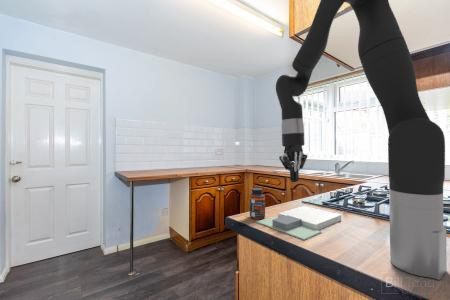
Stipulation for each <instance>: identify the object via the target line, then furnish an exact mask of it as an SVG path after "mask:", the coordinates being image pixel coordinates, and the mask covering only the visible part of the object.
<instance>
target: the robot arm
mask: <svg viewBox="0 0 450 300" xmlns="http://www.w3.org/2000/svg"><path fill="white" fill-rule="evenodd" d="M345 3H346V4H348V5H349V6H351V8H352V10H353V11H354V14H355V16H356V19H357V22H358V25H359V35H358V42H357V53H358V58H359V61H360V63H361V67H362V69H363V72H364V75H365V77H366V79H367V82H368V83H369V85H370V88H371V90H372V91H373V93H374V95H375V97H376V99H377V101H378V102H379V104H380V106H381V109H382V112H383V114H384V117H385V122H386V127H387V131H388V140H387V153H388V154H387V155H388V158H387V159H388V181H389V182H388V183H389V184H388V187H389V190H388V191H389V193H388V194H389V198H388V199H389V202H388V203H389V255H390V256H389V257H390V260H389V261H390V263H391V264H392V265H393V266H395V267H396V268H397V269H399V270H401V271H403V272H406V273H407V274H411V275H414V276H415V275H416V276H418V277H419V276H420V277H423V278H431V279H435V280H438V281H440V280H441V279H442V277H443V276H444V275H445V273H446V272H447V266H448V265H447V263H448V262H447V228H446V226H444V184H445V183H444V182H445V179H446V177H445V176H446V172H445V171H446V169H445V168H446V141H445V140H446V139H445V134H444V131H443V130H442V129H443V128H441V127H440V126H439V125H438V124H437V123H436V122H434V121H432V120H431V119H430V117H429V115H428V114H427V113H428V112H426V109H425V107H424V105H423V103H422V101H421V99H420V95H419V92H418V86H417V79H416V72H415V68H414V63H413V59H412V55H411V53H410V49H409V47H408V45H407V42H406V38H405V37H404V35H403V33H402V31H401V29H400V26H399V24H398V21H397V19H396V16H395V13H394V12H393V10H392V8H391V4H390V2H389V0H320V1H319V4H318V7H317V9H316V12H315V15H314V18H313V19H312V22H311V25H310V27H309V30H308V33H307V34H306V37H305V39H304V41H303V42H302V44H301V46H300V48H299V49H298V51H297V54H296V55H295V57H294V59H293V61H292V65H291V66H292V69H293V70H294V71H296V72H297V73H296V75H294V74H293V75H292V74H282V75H280V76H279V77H278V78H277V80H276V83H275V93H276V96H277V99H278V103H279V106H280V108H281V145H282V147H284V149H283V154H282V155H280V156H278V157H279V158H278V159H279V161H280V162H281V164H282V166H283V167H284V169H285V170H286V171H289V179H290V182H291V183H298V182H299V180H300V178H299V176H300V175H299V173H300V171H301V170H303V168H304V166H305V164H306V162H307V159H308V154H305V153H304V150H303V146H304V145H305V125H304V119H303V117H304V116H303V105H302V103H301V102H299V101H296V100H295V99H294V97H295V98H296V97H300V96H302V95H303V94H304V93H305V92H306V91H307V89H308V86H309V83H310V81H311V77H312V74H313V71H314V69H315V67H316V66H317V64H318V63H319V61H320V60H321V58H322V56H323V55H324V53H325V51H326V48H327V45H328V41H329V35H330V32H331V28H332V25H333V22H334V20H335V17H336V15H337V14H338V12H339V11H340V9H341V8H342V6H343V5H344V4H345Z"/></svg>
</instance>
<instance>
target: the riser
mask: <svg viewBox="0 0 450 300" xmlns="http://www.w3.org/2000/svg"><path fill="white" fill-rule="evenodd" d="M287 215H288V216H292V217H295V218H299V219H302V226H305V227H309V228H312V229H315V230H318V231H320V230H321V229H323V228H326V227H328V226H331V225H333V224H336V223H338V222H340V221H342V214H340V213H335V212H330V211H327V210H323V209H319V208H313V207H310V206H305V205H302V206H299V207H295V208H292V209H288V210H285V211H280V212H278V213H277V218H280V217H284V216H287Z"/></svg>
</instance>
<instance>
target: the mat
mask: <svg viewBox="0 0 450 300" xmlns="http://www.w3.org/2000/svg"><path fill="white" fill-rule="evenodd" d="M277 218H278V216H271V217H268V218H263V219H259V220H257V221H256V223H257V224H260V225H262V226H265V227H267V228H270V229H272V230H273V229H274V230H276V231H278V232H281V233H283V234H286V235H289V236H291V237H294V238H297V239H299V240H302V241H306V240H308V239H310V238H312V237H315V236H318V235H319V234H321V233H322V230H321V231H320V230H315V229H312V228H309V227H305V226H302V225H301V226H298V227H295V228H293V229H290V230H287V231H286V230H283V229H280V228H278V227H275V226H273V220H274V219H277Z"/></svg>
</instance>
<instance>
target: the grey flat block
mask: <svg viewBox="0 0 450 300" xmlns="http://www.w3.org/2000/svg"><path fill="white" fill-rule="evenodd" d="M301 225H302V219H299V218H295V217H292V216H288V215H287V216H284V217H280V218H278V217H277V219H274V220H273V226H275V227H278V228H280V229H283V230H286V231H287V230H290V229H293V228H295V227H298V226H301Z"/></svg>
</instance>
